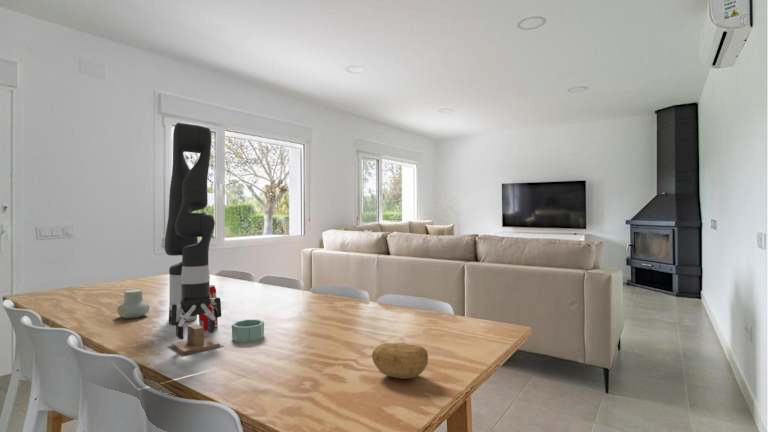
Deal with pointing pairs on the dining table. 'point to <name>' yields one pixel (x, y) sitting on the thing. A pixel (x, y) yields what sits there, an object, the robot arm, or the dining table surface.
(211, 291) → the beverage can
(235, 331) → the bowl
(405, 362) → the potato
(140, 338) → the dining table surface
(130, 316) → the air freshener
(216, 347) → the mat
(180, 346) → the lid
